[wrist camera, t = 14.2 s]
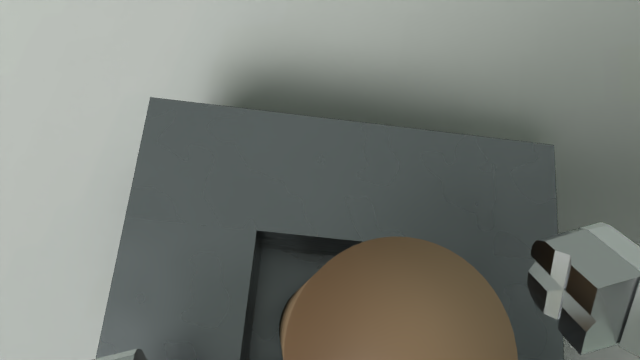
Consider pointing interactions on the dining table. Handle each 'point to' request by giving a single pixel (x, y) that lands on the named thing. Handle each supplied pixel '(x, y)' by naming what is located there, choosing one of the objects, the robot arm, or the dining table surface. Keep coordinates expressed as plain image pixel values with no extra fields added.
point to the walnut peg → (396, 307)
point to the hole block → (309, 222)
